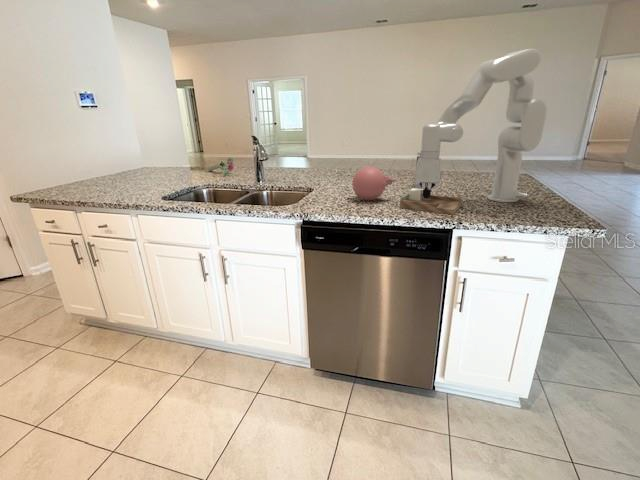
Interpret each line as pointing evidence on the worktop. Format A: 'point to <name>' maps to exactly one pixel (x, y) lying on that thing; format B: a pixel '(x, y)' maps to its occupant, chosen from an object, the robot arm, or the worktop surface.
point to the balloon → (370, 183)
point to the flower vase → (221, 166)
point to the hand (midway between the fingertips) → (426, 197)
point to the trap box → (432, 204)
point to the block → (416, 194)
